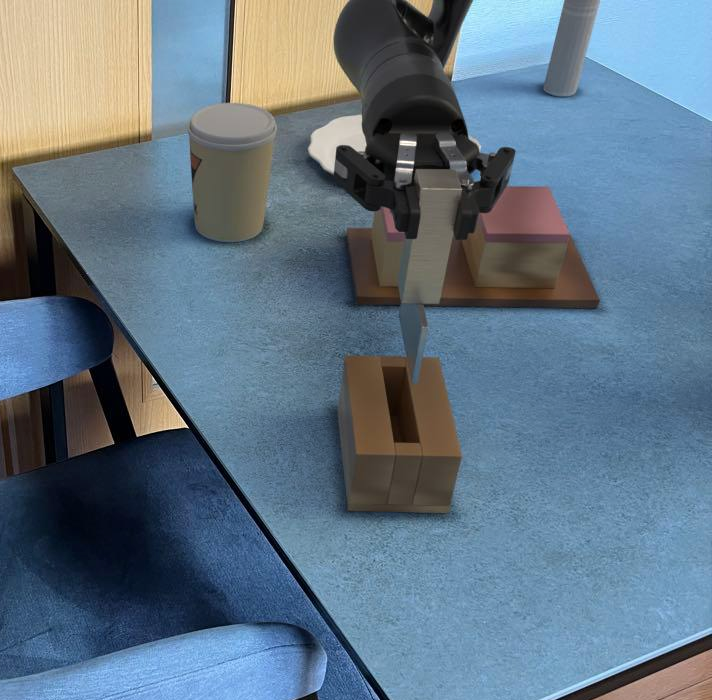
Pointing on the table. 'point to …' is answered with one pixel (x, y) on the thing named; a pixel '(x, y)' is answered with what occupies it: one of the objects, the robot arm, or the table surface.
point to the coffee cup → (230, 169)
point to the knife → (426, 258)
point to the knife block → (397, 436)
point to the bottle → (570, 46)
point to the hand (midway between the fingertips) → (439, 226)
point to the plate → (340, 140)
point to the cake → (496, 260)
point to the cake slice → (386, 247)
